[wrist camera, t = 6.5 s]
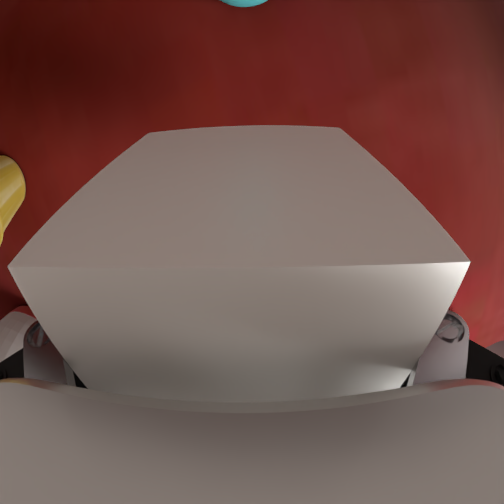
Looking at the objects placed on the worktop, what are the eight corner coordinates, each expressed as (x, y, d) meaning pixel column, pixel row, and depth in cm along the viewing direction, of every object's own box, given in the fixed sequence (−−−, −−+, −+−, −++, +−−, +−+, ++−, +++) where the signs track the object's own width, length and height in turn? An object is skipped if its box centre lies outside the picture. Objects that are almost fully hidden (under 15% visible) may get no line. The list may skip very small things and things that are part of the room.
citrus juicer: (-7, 276, 33) (-67, 373, 17) (80, 318, 37) (31, 440, 21) (9, 331, 42) (-30, 413, 26) (83, 366, 46) (53, 461, 30)
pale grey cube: (339, 127, 11) (470, 261, 4) (322, 277, 15) (357, 440, 8) (148, 133, 11) (7, 266, 4) (175, 278, 16) (134, 438, 8)
